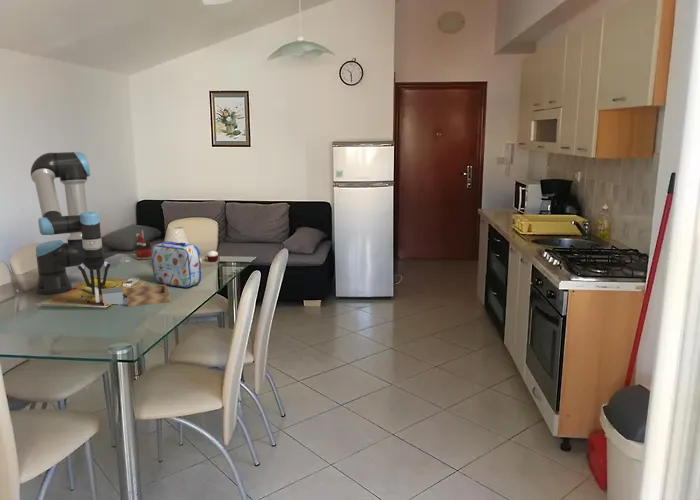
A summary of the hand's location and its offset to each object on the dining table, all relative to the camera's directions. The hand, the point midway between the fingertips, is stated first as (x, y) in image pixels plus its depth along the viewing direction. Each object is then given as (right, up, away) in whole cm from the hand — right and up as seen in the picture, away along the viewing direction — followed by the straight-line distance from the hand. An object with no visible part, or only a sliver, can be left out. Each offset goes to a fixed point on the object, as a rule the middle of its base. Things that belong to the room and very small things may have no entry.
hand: (97, 301), depth 245 cm
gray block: (+6, -1, +3) cm, 6 cm away
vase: (+15, +12, +65) cm, 68 cm away
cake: (-13, +17, +93) cm, 95 cm away
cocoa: (+30, +16, +84) cm, 90 cm away
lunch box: (+25, +5, +33) cm, 42 cm away
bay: (+18, 0, +8) cm, 20 cm away
